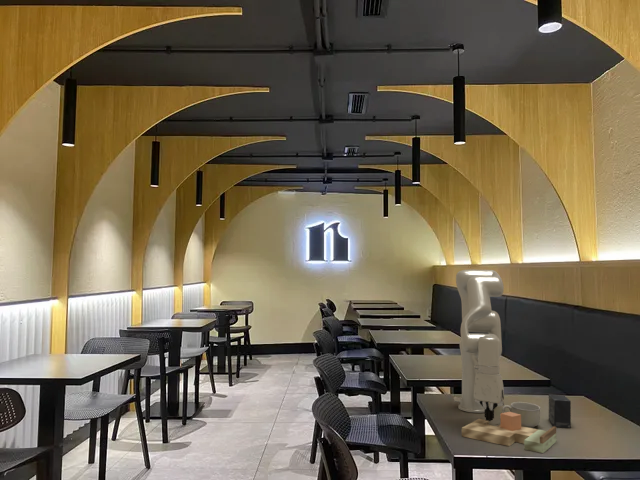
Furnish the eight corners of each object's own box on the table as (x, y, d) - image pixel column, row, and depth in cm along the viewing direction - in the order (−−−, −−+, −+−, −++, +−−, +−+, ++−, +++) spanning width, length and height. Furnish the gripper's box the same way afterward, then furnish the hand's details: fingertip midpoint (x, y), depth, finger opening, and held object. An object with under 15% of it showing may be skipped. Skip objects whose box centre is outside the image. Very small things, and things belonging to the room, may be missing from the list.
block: (500, 427, 194) (500, 413, 194) (509, 425, 197) (509, 411, 197) (512, 431, 190) (512, 416, 190) (521, 428, 193) (521, 414, 193)
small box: (572, 428, 204) (571, 400, 205) (553, 427, 206) (553, 399, 206) (565, 421, 215) (564, 394, 215) (547, 420, 216) (547, 393, 217)
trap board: (461, 436, 193) (461, 422, 193) (478, 426, 206) (478, 413, 206) (543, 453, 176) (542, 437, 176) (556, 441, 188) (556, 426, 189)
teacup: (539, 424, 210) (539, 403, 211) (541, 431, 200) (541, 409, 201) (502, 420, 215) (501, 400, 216) (501, 427, 205) (501, 406, 205)
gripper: (465, 368, 202) (465, 418, 201) (505, 373, 193) (505, 426, 192) (473, 366, 208) (473, 414, 207) (512, 371, 199) (513, 421, 198)
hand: (489, 420), depth 199 cm, fingers closed
